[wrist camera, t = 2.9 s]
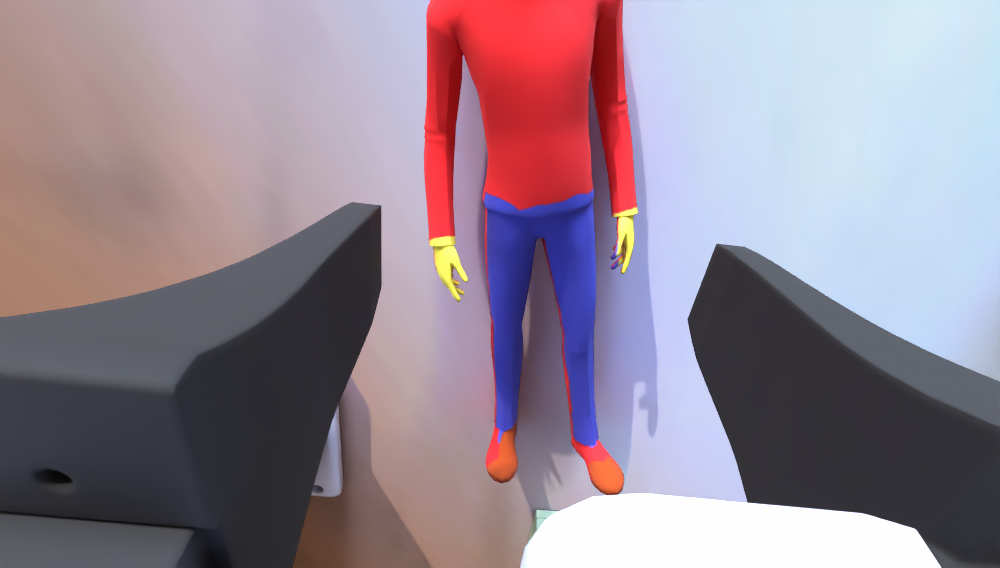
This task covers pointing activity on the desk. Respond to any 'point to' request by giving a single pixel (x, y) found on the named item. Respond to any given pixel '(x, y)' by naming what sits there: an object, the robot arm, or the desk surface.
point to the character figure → (533, 182)
